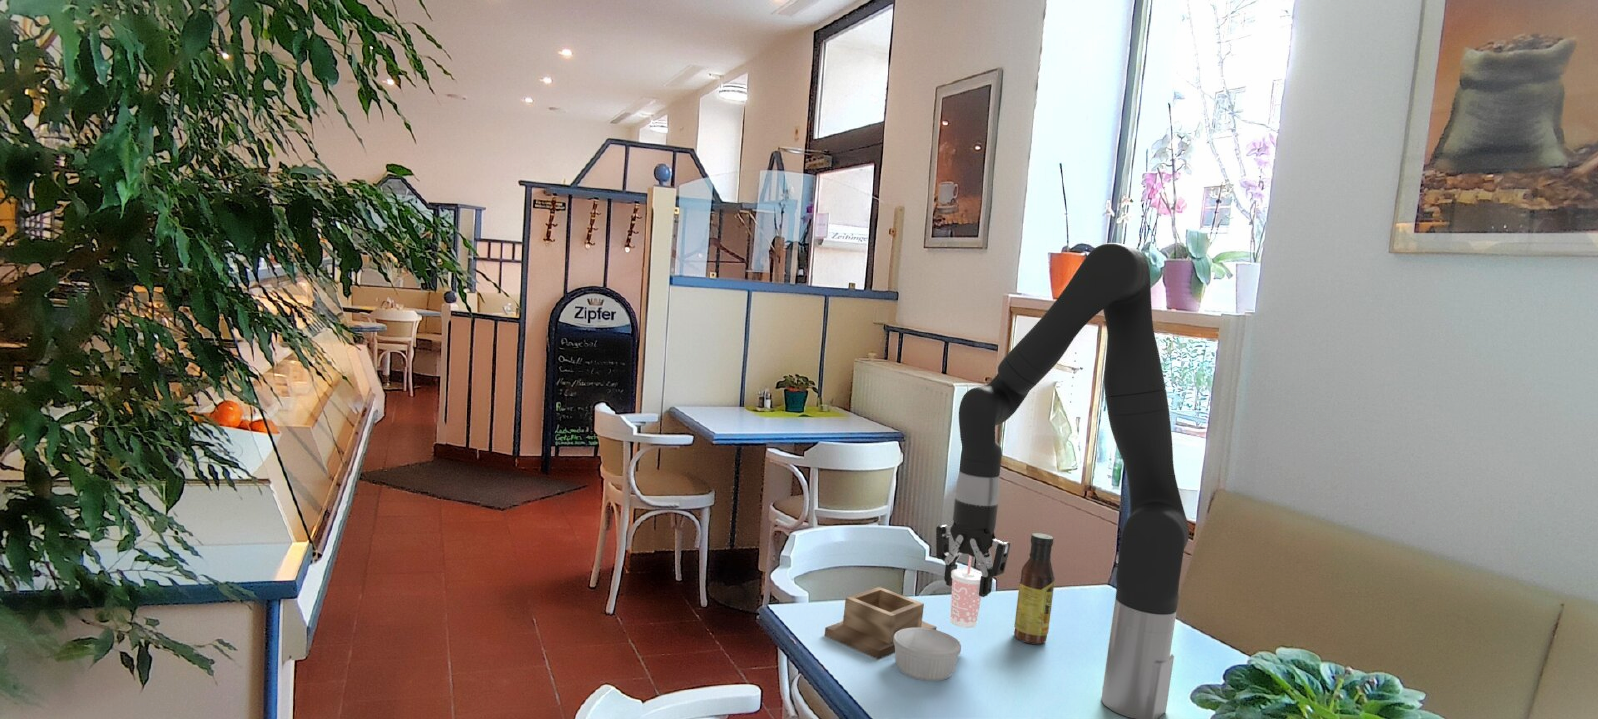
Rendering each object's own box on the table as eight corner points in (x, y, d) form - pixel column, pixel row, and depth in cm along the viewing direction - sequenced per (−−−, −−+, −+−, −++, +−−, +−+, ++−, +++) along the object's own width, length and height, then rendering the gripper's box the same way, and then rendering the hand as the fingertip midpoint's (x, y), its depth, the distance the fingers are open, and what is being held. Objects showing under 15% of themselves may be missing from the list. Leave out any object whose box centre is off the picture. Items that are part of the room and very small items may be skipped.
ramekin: (879, 657, 157) (882, 628, 156) (936, 653, 161) (939, 625, 160) (909, 687, 146) (913, 656, 146) (969, 682, 150) (973, 652, 150)
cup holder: (935, 634, 169) (939, 600, 168) (878, 659, 155) (882, 622, 155) (883, 613, 177) (887, 581, 176) (824, 635, 163) (828, 600, 163)
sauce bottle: (1047, 648, 168) (1061, 543, 166) (1013, 642, 169) (1026, 538, 167) (1045, 634, 174) (1059, 534, 172) (1012, 629, 176) (1025, 529, 174)
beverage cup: (939, 617, 164) (947, 542, 163) (967, 615, 167) (975, 540, 166) (958, 631, 159) (967, 553, 158) (987, 628, 162) (996, 551, 160)
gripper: (1023, 504, 159) (1013, 597, 161) (952, 487, 168) (943, 575, 170) (1002, 510, 153) (991, 607, 155) (930, 491, 163) (921, 582, 164)
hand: (966, 589), depth 162 cm, fingers closed on beverage cup, 6 cm apart
